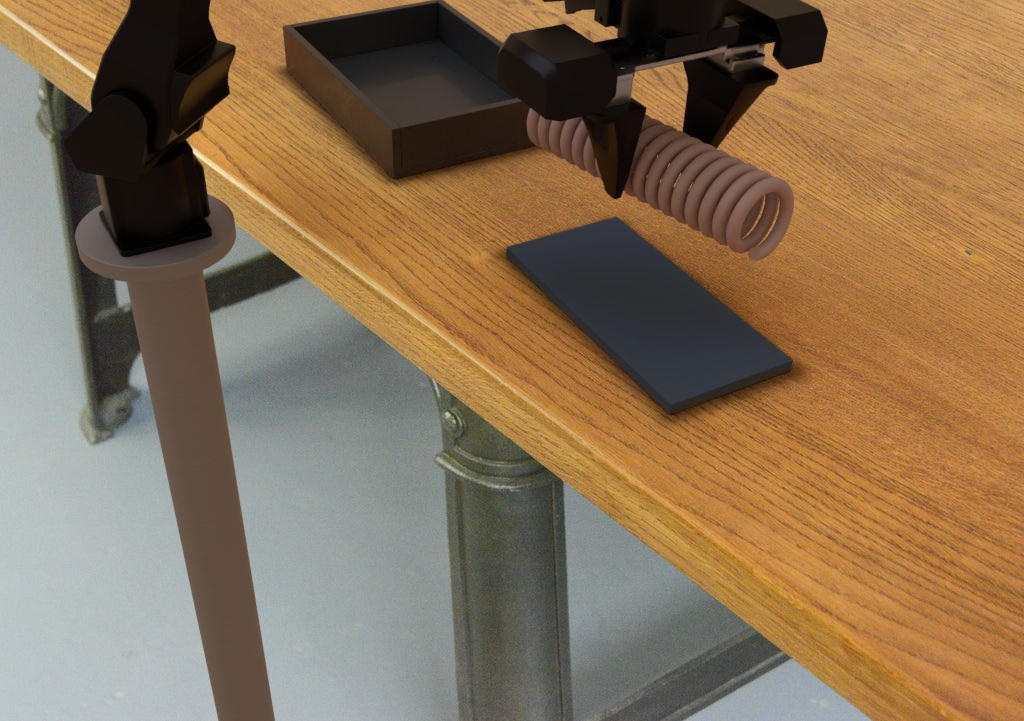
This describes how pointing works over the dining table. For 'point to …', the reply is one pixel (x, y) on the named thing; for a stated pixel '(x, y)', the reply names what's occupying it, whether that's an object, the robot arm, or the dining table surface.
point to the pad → (648, 314)
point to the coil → (686, 182)
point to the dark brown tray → (410, 85)
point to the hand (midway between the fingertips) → (651, 185)
